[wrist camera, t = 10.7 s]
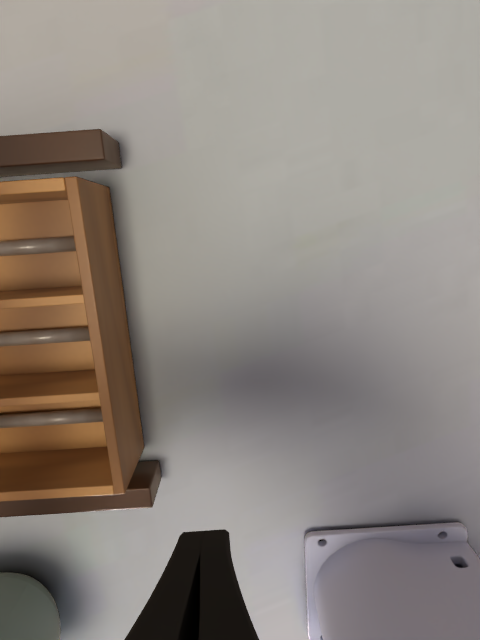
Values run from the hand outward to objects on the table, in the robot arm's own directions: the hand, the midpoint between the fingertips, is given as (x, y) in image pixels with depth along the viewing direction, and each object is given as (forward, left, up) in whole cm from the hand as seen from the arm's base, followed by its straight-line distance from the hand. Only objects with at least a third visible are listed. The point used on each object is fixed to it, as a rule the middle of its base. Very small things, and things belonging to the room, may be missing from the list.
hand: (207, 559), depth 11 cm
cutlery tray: (+9, -5, -10) cm, 15 cm away
